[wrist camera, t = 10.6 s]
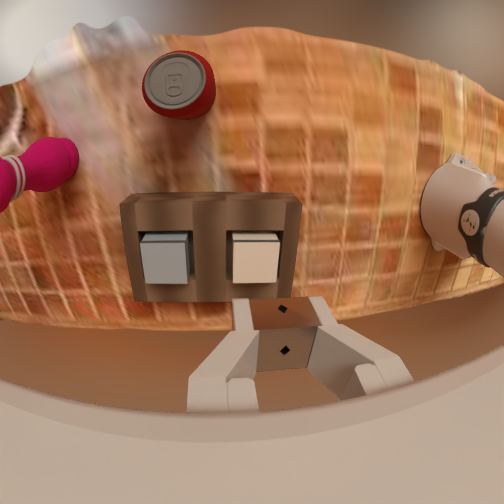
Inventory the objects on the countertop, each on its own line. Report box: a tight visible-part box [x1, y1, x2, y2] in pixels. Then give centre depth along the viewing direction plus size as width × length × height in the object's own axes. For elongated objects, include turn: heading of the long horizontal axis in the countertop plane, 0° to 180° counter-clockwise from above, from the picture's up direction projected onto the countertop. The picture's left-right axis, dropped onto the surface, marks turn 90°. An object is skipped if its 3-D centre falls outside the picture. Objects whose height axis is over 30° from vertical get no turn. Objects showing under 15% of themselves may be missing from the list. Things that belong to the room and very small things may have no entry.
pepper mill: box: [0, 137, 79, 213], centre depth 22 cm, size 7×7×20 cm
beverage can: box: [142, 51, 216, 120], centre depth 25 cm, size 7×7×12 cm
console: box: [120, 192, 302, 302], centre depth 37 cm, size 22×14×5 cm, turn 87°
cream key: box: [231, 230, 280, 283], centre depth 36 cm, size 6×6×5 cm
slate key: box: [140, 230, 191, 284], centre depth 34 cm, size 6×6×5 cm
